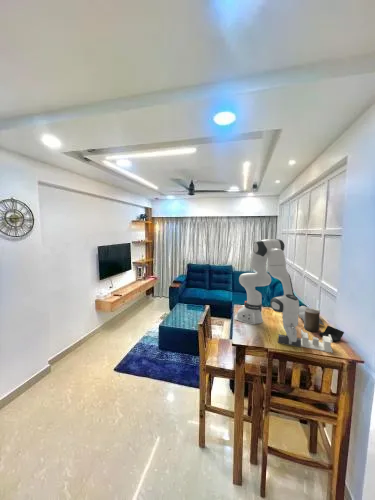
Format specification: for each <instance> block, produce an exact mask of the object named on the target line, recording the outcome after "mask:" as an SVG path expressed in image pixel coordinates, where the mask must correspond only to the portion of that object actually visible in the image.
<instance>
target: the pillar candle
mask: <svg viewBox="0 0 375 500" xmlns="http://www.w3.org/2000/svg"><path fill="white" fill-rule="evenodd" d="M320 315H321V311H320V312H319V311H317V310H315V309H313V308H311V309H305V315H304V321H303V329H305V330H306V331H309V332H314V333H317V332H319V331H320V324H319V318H320Z"/></svg>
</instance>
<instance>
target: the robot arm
mask: <svg viewBox="0 0 375 500" xmlns="http://www.w3.org/2000/svg"><path fill="white" fill-rule="evenodd" d="M285 248H286V247H285V242H284V241H283V240H282V239H280V238H279V239H278V238H268V239H258V240H255V241H254V242H253V244H252V255H251V261H250V268H251V269H253V270H254V271H255V272H244V273H241V274H240V275H239V277H238V282H239V284H240V286H242V287H243V288H244V289H245V291H246V300H244V306H243V307H240V308H239V309H238V311H237V313H236V314H235V315H234V318H233V319H234V320H235V321H237V320H238V321H237V322H241V323H245V324H248V325H257V324H262V323H263V322H264V321H263V315H262V314H263V313H262V311H263V304H262V298H263V297H262V296H263V295H262V292H260V291H258V290H256V287H266V286H270V284H271V282H272V278H274V279H277V280H279V281H280V282H281V284H282V290H283V295H279V296H275V297H272V298H271V299H270V307H271V309H272V311H274V312H276V313H282V317H281V318H282V324H283V325H282V326H283V329H284V331H285V333H286V335H285V336H288V338H289V340H288V343H289V344H292V342H296V341H297V338H298V336H297V333H298V332H297V328H296V327H298V325H299V315H298V312H299V307H300V302H299V298H298V297H297V296H296V295H295V293H294V289H293V283H292V278H291V276H290V273H289V272H288V270H287V269H288V268H287V262H286V257H285V253H284V250H285ZM267 264H268V265H267ZM267 266H268V267H267ZM266 267H267V268H268V271H267V270H266V269H267V268H266Z"/></svg>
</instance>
